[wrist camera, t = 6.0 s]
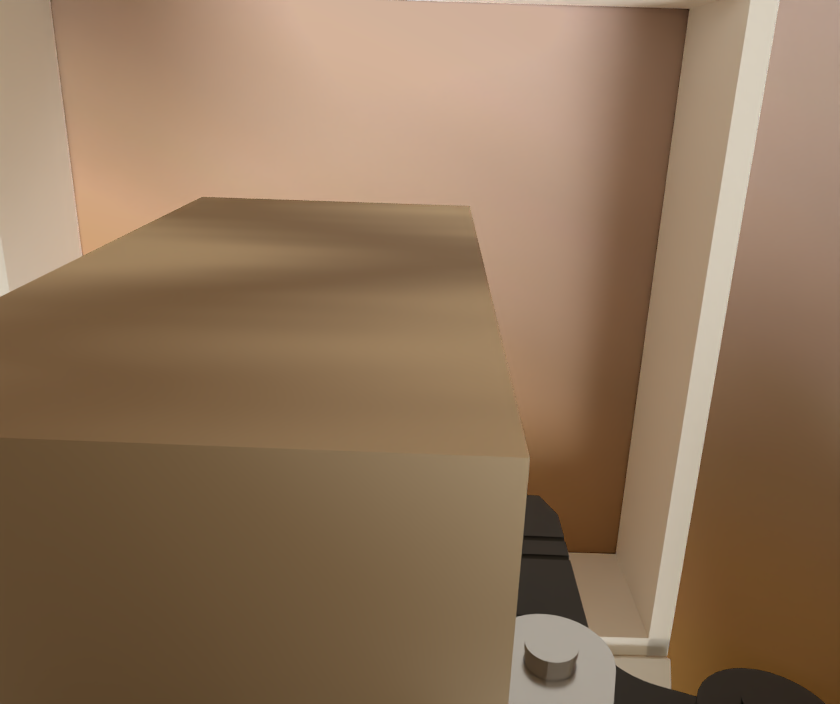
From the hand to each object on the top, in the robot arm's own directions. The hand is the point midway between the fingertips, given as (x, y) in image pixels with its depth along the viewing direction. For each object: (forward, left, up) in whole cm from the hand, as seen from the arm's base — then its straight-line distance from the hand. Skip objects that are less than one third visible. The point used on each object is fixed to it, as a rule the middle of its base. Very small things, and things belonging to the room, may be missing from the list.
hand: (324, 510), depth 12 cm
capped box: (0, 0, -1) cm, 1 cm away
